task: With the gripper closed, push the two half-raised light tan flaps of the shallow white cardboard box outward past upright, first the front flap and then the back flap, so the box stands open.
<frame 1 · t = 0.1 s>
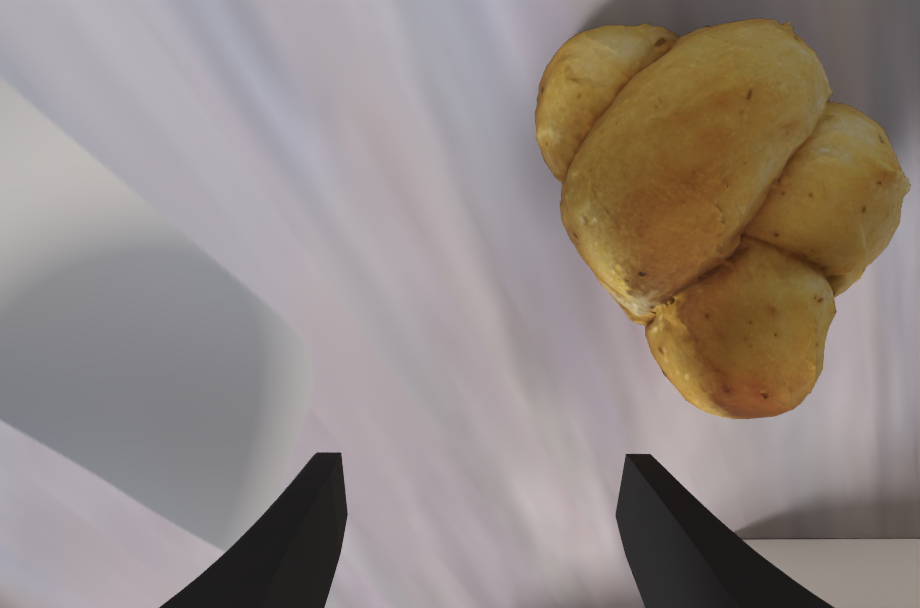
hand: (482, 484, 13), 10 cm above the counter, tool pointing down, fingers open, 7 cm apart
bread roll: (669, 168, 20), on the counter
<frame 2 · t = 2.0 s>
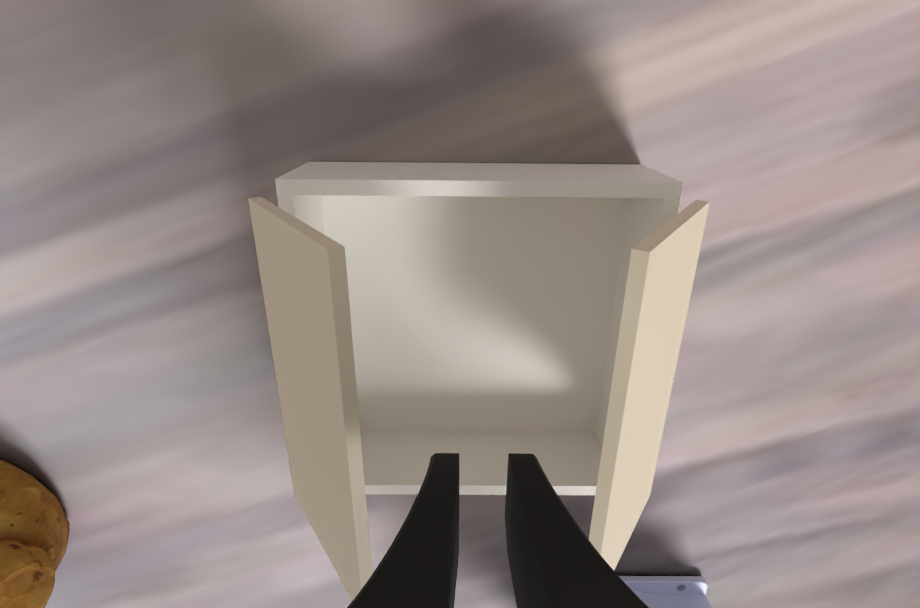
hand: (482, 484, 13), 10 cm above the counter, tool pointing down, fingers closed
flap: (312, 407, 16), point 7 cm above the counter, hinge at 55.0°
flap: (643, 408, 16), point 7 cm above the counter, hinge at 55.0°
carton: (472, 314, 22), on the counter
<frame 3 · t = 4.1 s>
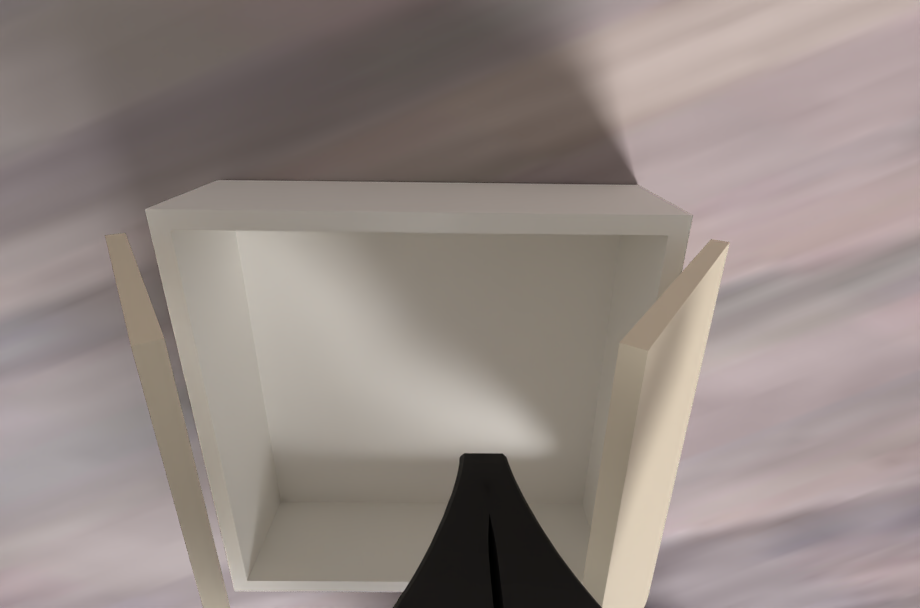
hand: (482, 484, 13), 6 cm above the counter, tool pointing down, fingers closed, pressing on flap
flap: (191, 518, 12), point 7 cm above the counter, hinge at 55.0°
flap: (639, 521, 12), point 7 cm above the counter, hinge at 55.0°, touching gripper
carton: (431, 365, 18), on the counter
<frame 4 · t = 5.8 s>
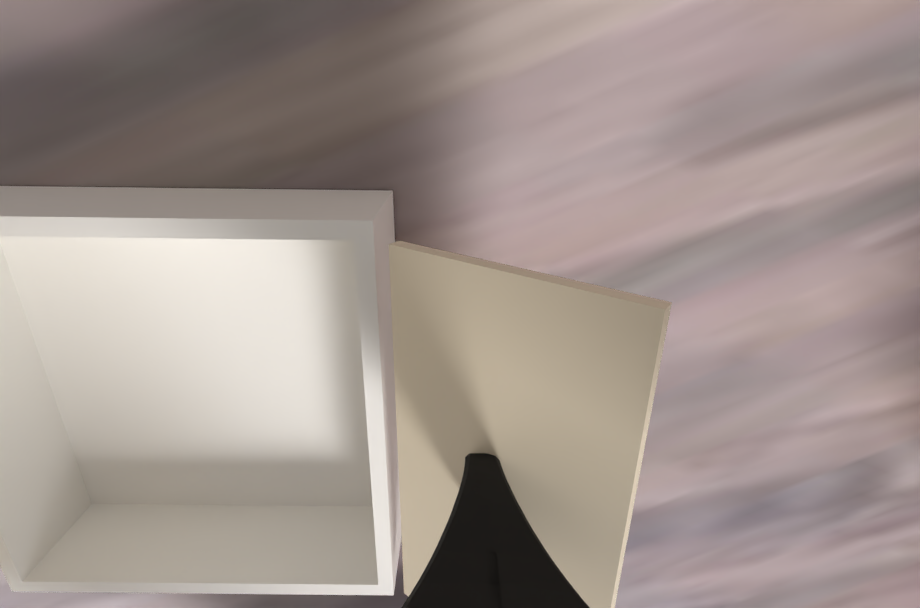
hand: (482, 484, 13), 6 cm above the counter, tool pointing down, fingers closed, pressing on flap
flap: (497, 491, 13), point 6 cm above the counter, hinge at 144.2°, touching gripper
carton: (221, 368, 19), on the counter
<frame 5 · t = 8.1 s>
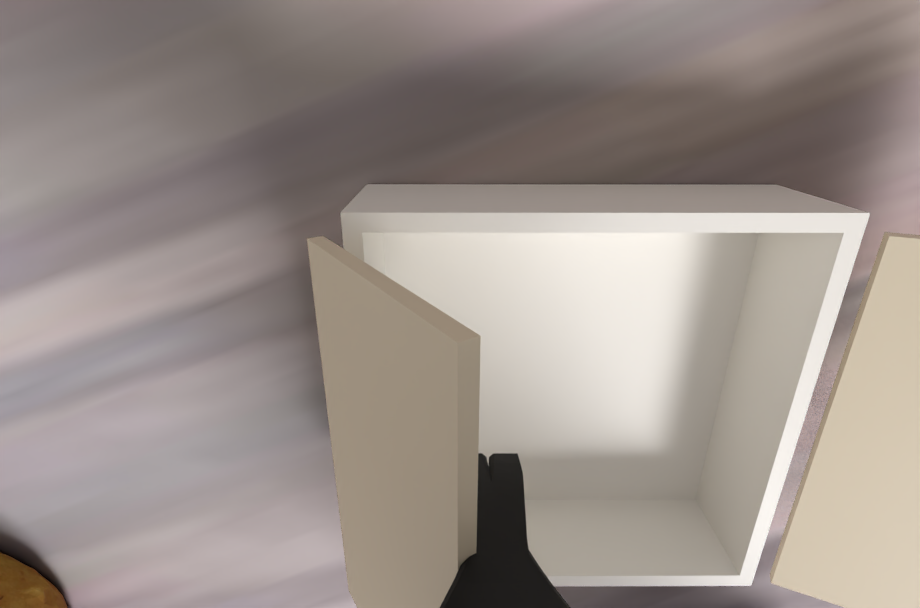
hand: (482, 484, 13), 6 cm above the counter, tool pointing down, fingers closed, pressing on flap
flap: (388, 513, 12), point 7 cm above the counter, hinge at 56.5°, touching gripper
carton: (556, 363, 19), on the counter
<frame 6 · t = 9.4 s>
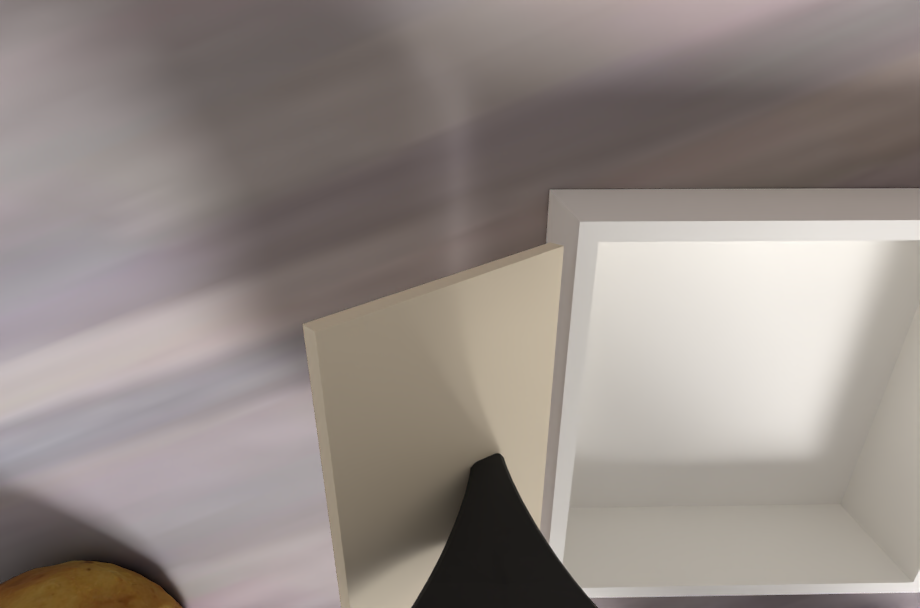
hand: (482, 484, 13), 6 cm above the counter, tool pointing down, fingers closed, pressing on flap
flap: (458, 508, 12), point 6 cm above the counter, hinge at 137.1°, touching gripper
carton: (716, 369, 18), on the counter
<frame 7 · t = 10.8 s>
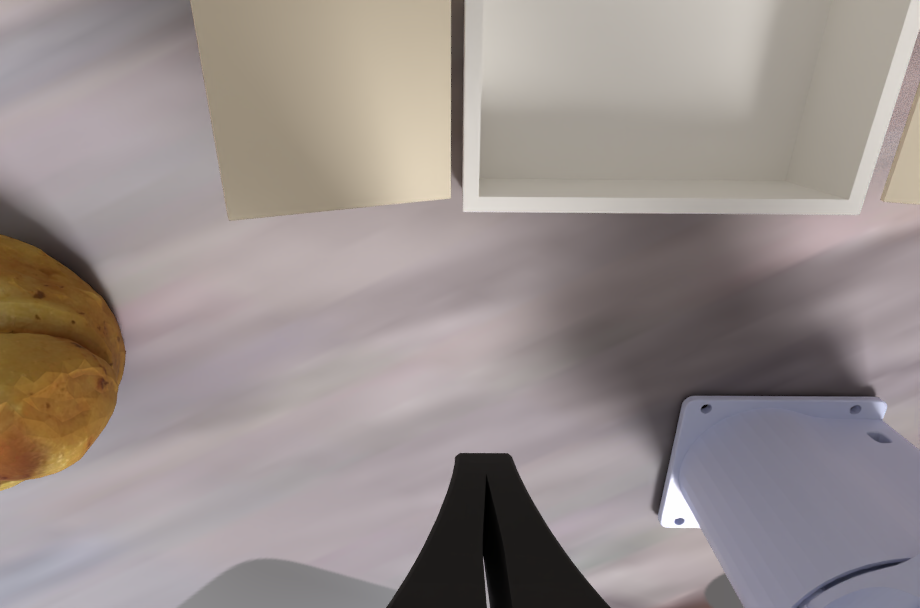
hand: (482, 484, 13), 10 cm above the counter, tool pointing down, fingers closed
bread roll: (22, 341, 23), on the counter
carton: (650, 2, 18), on the counter
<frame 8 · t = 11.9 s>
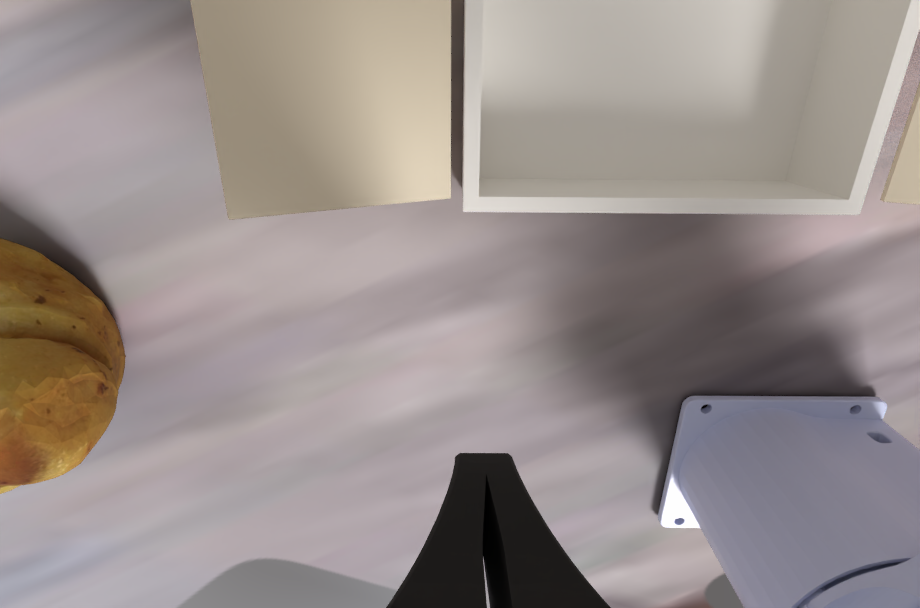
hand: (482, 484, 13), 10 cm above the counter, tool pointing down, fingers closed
bread roll: (22, 344, 23), on the counter
carton: (650, 2, 18), on the counter
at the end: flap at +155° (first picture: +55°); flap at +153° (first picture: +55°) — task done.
